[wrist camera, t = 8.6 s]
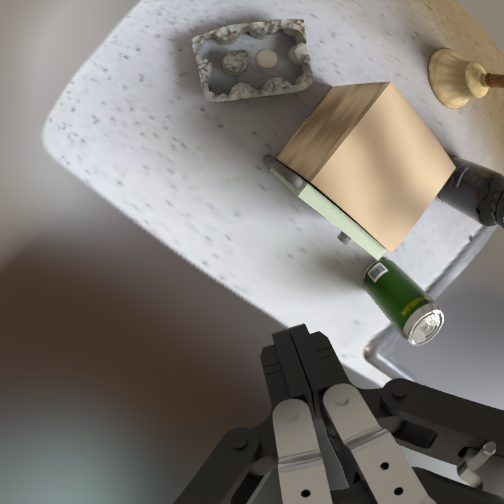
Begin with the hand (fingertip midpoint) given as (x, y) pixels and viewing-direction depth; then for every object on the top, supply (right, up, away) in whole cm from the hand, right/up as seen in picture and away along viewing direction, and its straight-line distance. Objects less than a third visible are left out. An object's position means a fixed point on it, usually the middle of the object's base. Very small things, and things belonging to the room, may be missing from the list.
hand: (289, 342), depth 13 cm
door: (+4, +10, +20) cm, 22 cm away
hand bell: (+24, +26, +16) cm, 39 cm away
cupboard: (+8, +15, +18) cm, 25 cm away
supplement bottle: (+26, +14, +22) cm, 36 cm away
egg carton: (-2, +22, +13) cm, 26 cm away
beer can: (+15, +1, +26) cm, 31 cm away
